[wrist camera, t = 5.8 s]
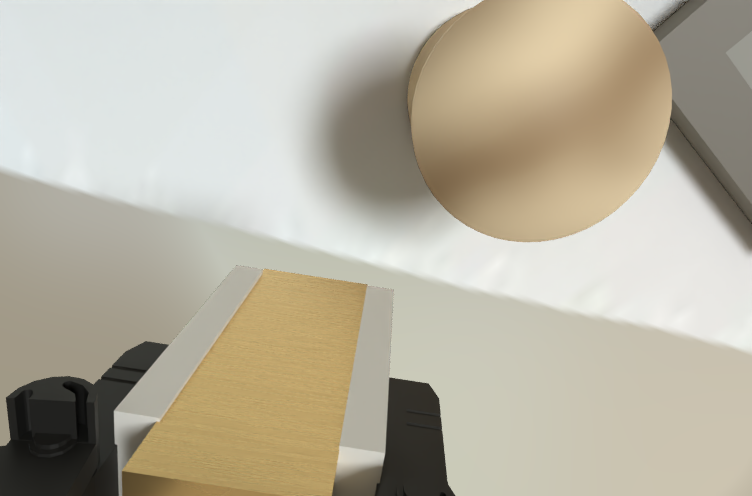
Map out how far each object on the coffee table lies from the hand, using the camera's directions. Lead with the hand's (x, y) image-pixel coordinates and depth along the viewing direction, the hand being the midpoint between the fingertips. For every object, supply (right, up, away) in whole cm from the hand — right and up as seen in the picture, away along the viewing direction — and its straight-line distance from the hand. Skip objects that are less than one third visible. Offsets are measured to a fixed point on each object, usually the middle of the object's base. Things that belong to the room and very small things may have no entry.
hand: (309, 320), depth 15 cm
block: (0, 0, 0) cm, 1 cm away
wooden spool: (+8, +10, +12) cm, 18 cm away
